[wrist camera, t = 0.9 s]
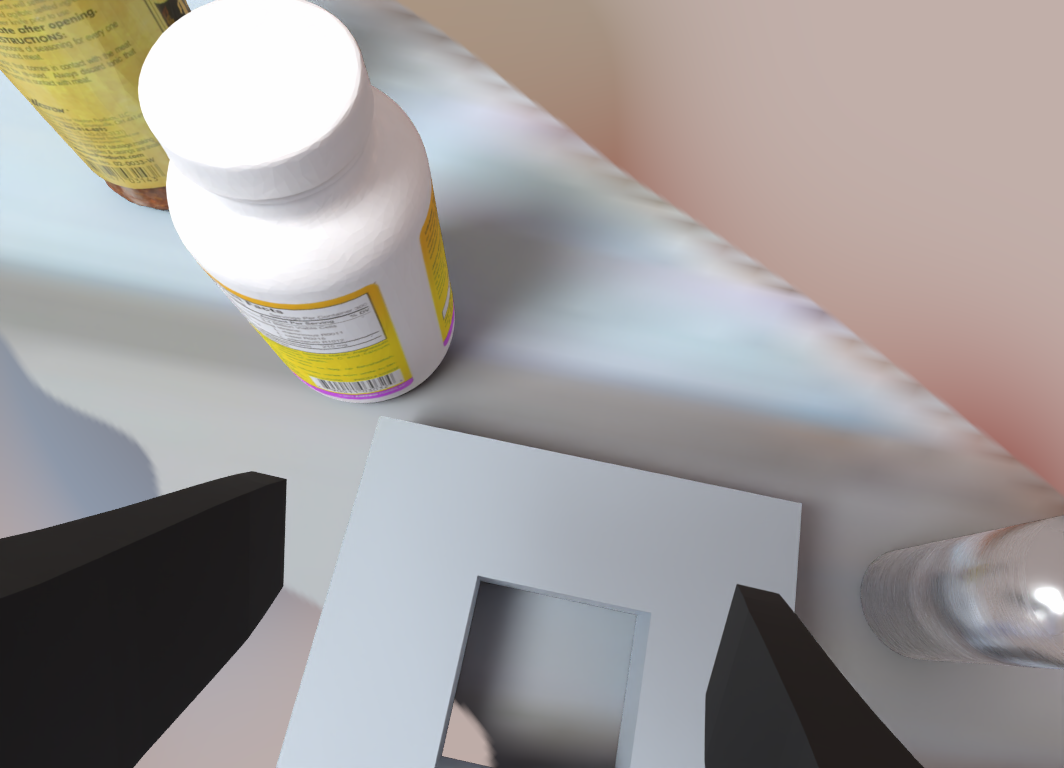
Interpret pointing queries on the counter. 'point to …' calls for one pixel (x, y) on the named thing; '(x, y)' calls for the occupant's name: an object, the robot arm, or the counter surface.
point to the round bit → (974, 597)
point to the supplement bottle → (302, 193)
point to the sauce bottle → (93, 81)
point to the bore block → (531, 565)
